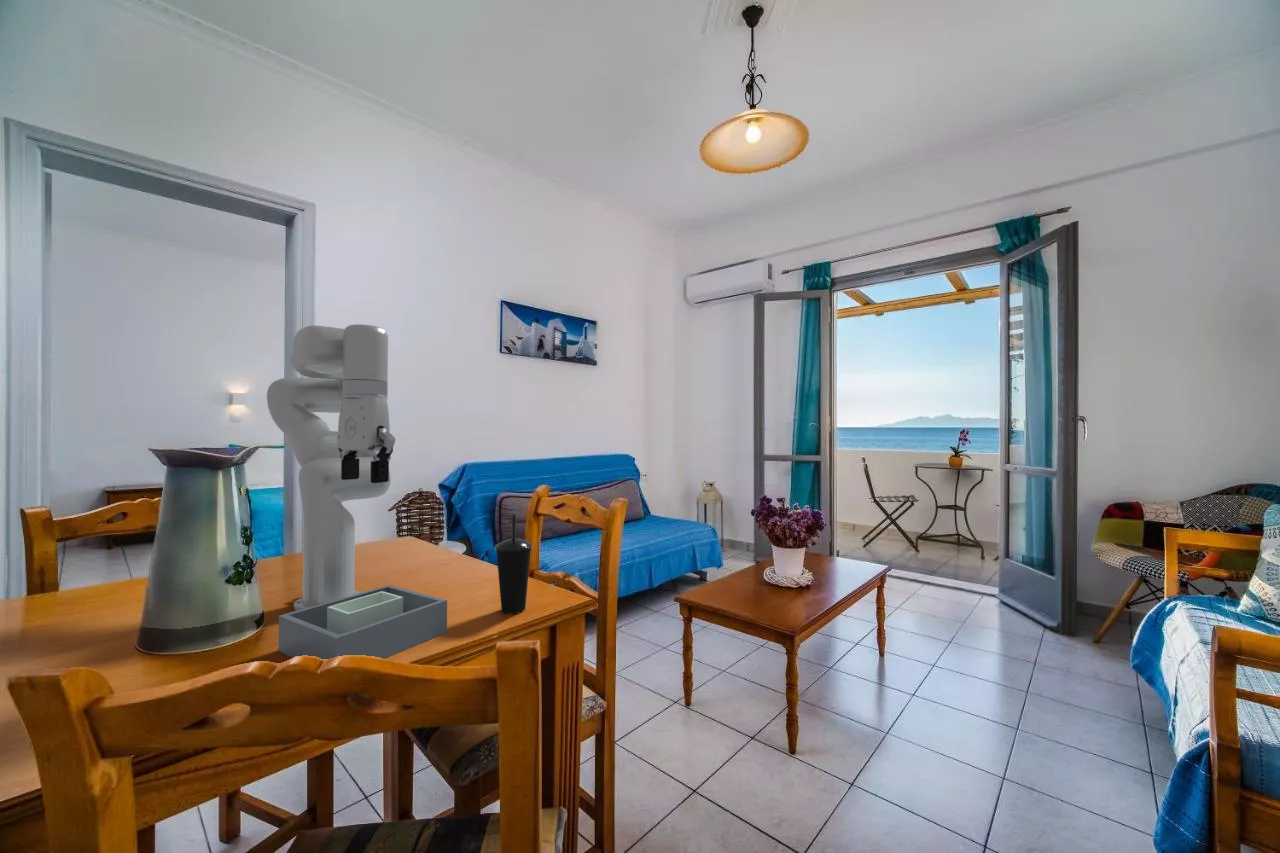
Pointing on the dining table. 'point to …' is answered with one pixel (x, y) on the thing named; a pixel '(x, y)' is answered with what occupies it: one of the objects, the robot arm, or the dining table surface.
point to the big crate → (364, 628)
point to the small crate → (363, 611)
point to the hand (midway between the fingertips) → (364, 480)
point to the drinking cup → (513, 571)
